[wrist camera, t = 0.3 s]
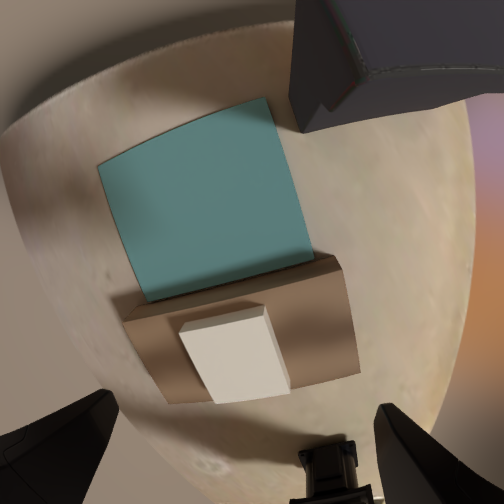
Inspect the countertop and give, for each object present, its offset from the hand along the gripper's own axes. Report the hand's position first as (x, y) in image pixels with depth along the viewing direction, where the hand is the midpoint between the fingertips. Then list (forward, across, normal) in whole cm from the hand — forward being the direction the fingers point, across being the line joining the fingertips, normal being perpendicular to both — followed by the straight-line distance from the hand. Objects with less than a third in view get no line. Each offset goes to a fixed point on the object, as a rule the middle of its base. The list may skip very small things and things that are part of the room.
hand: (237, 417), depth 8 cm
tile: (+11, +2, +6) cm, 12 cm away
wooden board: (+14, +2, +6) cm, 16 cm away
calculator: (+14, -8, -13) cm, 21 cm away
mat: (+14, +5, -5) cm, 16 cm away
